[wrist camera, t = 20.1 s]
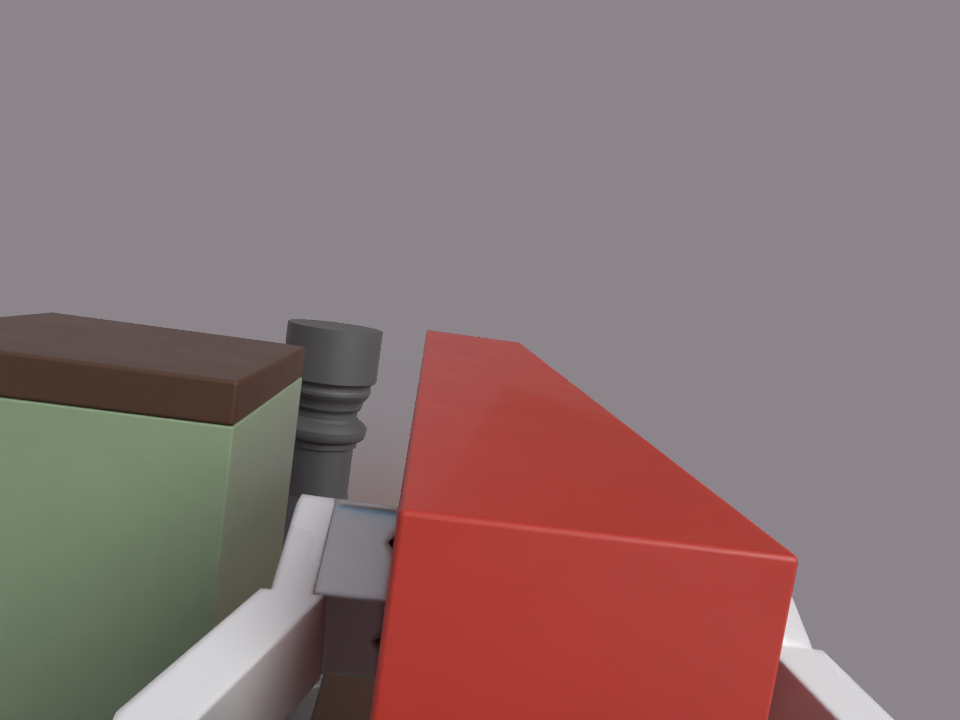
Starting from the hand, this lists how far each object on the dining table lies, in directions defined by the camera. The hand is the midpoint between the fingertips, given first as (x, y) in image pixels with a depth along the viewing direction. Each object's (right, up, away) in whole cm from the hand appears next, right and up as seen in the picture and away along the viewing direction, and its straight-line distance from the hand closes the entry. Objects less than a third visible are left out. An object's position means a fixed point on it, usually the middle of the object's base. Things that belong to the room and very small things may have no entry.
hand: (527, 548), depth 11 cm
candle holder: (-13, -20, +36) cm, 43 cm away
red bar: (-1, -1, +8) cm, 9 cm away
